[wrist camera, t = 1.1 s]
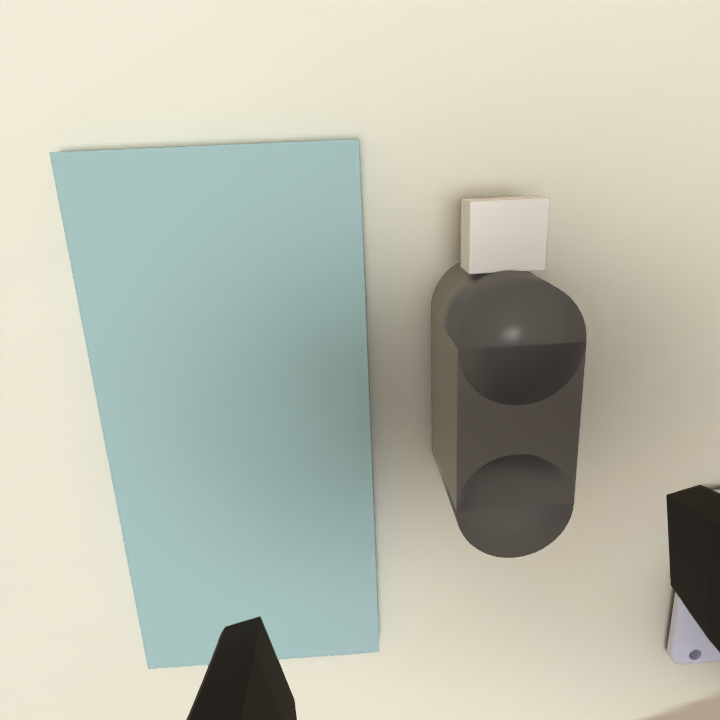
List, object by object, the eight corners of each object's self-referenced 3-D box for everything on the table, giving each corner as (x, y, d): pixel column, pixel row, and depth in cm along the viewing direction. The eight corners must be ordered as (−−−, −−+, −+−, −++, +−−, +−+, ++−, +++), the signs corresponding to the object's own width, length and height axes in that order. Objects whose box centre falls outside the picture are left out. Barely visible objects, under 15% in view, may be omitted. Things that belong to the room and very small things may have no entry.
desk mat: (357, 139, 19) (358, 138, 18) (377, 636, 25) (379, 652, 24) (60, 152, 19) (49, 152, 18) (153, 653, 25) (148, 669, 24)
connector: (538, 191, 20) (597, 200, 15) (524, 480, 23) (569, 553, 19) (430, 196, 20) (459, 207, 15) (432, 486, 23) (455, 561, 19)
